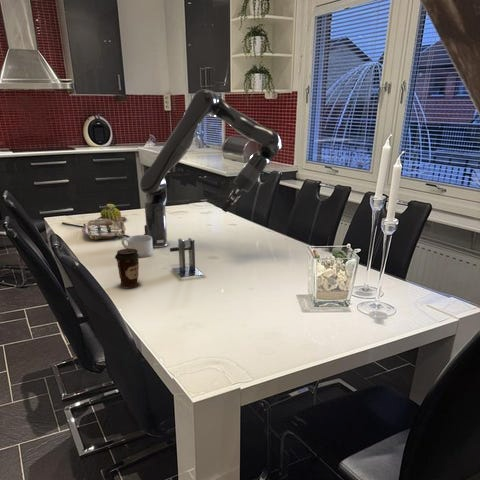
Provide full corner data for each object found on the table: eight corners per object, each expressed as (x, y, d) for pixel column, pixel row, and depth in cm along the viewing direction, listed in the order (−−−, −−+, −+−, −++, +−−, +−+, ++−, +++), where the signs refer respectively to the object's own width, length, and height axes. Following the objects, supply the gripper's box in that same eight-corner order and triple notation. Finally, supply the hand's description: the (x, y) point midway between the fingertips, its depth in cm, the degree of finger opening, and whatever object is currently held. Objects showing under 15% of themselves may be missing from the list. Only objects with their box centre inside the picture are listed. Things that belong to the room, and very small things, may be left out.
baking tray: (131, 240, 228) (130, 229, 226) (84, 244, 221) (83, 232, 219) (121, 227, 254) (120, 217, 252) (80, 230, 246) (78, 219, 244)
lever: (170, 253, 186) (169, 247, 186) (189, 251, 189) (188, 245, 189) (177, 247, 175) (176, 241, 175) (198, 245, 178) (196, 239, 178)
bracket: (172, 271, 186) (170, 236, 180) (193, 268, 189) (192, 234, 183) (181, 280, 176) (179, 244, 170) (203, 277, 179) (202, 242, 173)
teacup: (158, 254, 207) (157, 236, 204) (143, 260, 198) (142, 242, 195) (132, 250, 212) (131, 233, 209) (117, 256, 203) (115, 238, 200)
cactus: (122, 224, 260) (121, 206, 256) (94, 224, 260) (92, 206, 256) (129, 218, 275) (128, 201, 271) (102, 217, 275) (101, 200, 271)
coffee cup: (146, 283, 172) (143, 249, 167) (134, 290, 165) (131, 255, 160) (125, 280, 175) (122, 246, 169) (113, 287, 168) (109, 252, 162)
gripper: (240, 173, 195) (217, 205, 198) (239, 170, 181) (215, 205, 184) (254, 184, 196) (232, 216, 199) (255, 182, 182) (231, 216, 185)
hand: (224, 210), depth 191 cm, fingers open, 8 cm apart
